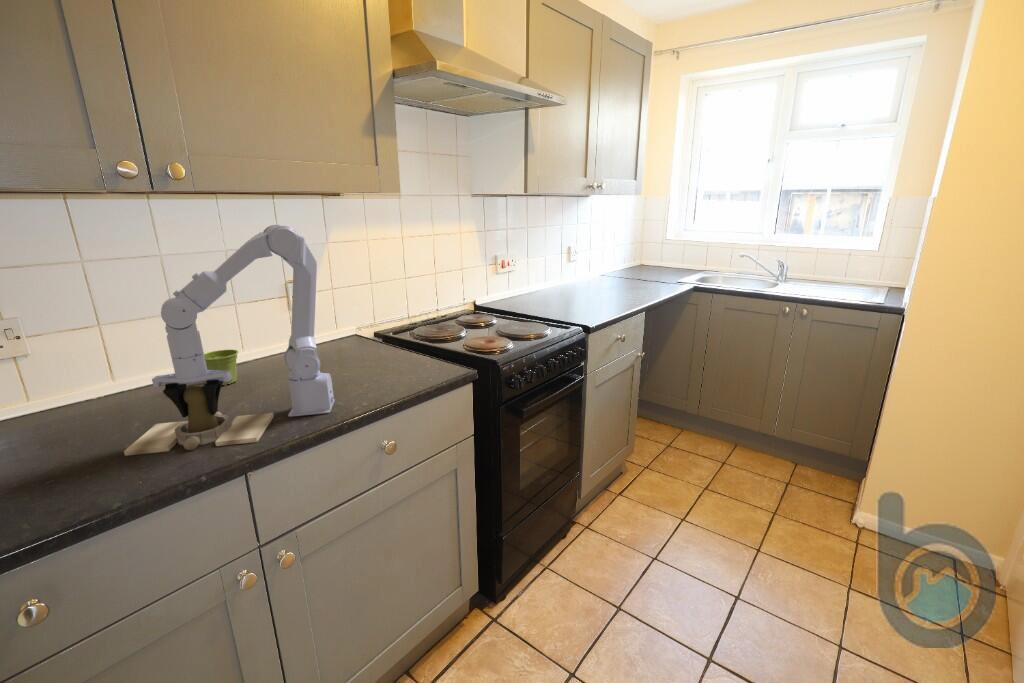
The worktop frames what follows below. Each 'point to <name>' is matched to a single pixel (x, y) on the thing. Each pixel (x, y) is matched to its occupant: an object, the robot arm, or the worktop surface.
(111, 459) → the worktop surface
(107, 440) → the worktop surface
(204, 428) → the cork
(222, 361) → the plant pot
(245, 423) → the hinge base
